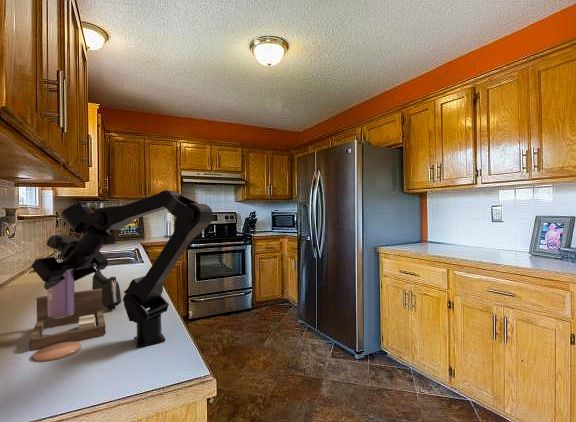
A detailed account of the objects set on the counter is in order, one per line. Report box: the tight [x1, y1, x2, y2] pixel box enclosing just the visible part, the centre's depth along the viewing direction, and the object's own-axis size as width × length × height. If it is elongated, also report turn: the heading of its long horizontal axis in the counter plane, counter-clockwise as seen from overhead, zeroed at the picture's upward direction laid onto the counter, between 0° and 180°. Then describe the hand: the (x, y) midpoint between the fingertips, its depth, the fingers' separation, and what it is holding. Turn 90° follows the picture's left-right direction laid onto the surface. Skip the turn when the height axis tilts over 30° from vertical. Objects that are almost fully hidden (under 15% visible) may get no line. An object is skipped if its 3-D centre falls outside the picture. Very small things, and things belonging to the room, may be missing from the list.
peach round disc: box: [32, 341, 82, 362], centre depth 73 cm, size 9×9×1 cm
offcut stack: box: [78, 315, 97, 329], centre depth 87 cm, size 10×4×4 cm, turn 33°
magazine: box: [91, 270, 122, 310], centre depth 116 cm, size 17×3×30 cm
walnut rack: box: [28, 289, 107, 351], centre depth 86 cm, size 18×16×9 cm
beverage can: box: [46, 259, 75, 319], centre depth 85 cm, size 6×6×15 cm
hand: (56, 285), depth 85 cm, fingers closed on beverage can, 6 cm apart
